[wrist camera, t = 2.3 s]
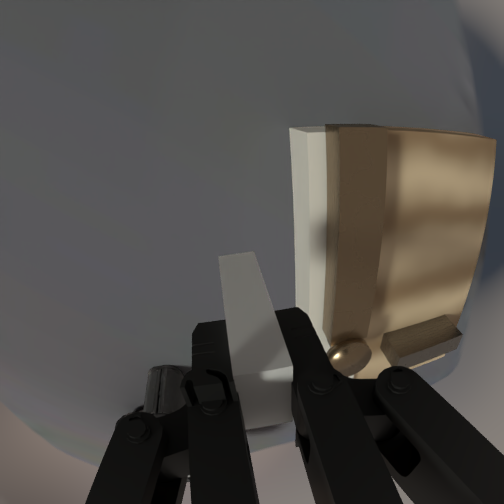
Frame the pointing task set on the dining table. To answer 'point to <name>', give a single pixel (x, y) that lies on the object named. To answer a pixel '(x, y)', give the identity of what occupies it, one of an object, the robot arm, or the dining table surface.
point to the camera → (163, 392)
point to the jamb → (310, 221)
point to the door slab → (428, 230)
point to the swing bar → (353, 238)
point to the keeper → (420, 342)
